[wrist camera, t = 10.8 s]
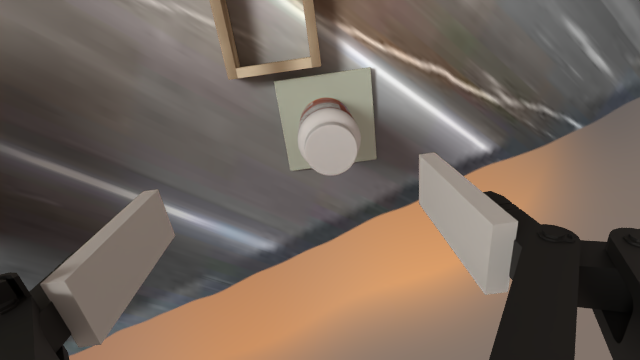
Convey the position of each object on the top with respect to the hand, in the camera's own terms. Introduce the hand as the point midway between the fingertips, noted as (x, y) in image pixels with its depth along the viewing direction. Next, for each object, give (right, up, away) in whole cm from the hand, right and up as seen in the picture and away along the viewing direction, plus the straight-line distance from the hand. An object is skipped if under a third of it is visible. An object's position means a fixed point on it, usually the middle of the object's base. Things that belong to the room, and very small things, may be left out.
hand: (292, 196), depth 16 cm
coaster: (+2, +8, +22) cm, 24 cm away
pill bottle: (+2, +8, +22) cm, 23 cm away
